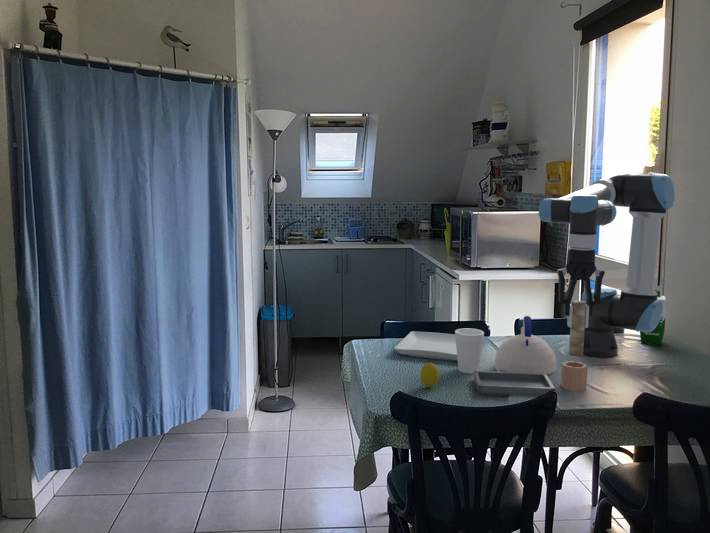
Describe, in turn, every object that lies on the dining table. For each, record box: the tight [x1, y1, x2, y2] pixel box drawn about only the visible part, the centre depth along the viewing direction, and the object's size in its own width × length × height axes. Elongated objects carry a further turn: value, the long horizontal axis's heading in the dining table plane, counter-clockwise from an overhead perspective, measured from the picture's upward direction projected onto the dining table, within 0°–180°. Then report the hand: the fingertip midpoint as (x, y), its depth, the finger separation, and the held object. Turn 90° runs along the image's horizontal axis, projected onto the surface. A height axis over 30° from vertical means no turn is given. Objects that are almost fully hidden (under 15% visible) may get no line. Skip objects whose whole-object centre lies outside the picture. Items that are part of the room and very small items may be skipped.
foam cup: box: [454, 327, 485, 374], centre depth 210 cm, size 10×9×13 cm
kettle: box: [493, 315, 557, 375], centre depth 212 cm, size 20×21×18 cm
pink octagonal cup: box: [560, 360, 589, 392], centre depth 192 cm, size 7×7×8 cm
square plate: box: [393, 330, 458, 362], centre depth 233 cm, size 27×27×4 cm
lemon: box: [420, 361, 440, 389], centre depth 193 cm, size 6×6×8 cm
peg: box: [568, 300, 586, 358], centre depth 190 cm, size 4×4×16 cm
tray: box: [473, 370, 556, 398], centre depth 193 cm, size 22×14×3 cm, turn 84°
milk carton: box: [639, 289, 667, 346], centre depth 246 cm, size 9×9×20 cm
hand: (577, 326), depth 190 cm, fingers closed on peg, 4 cm apart
